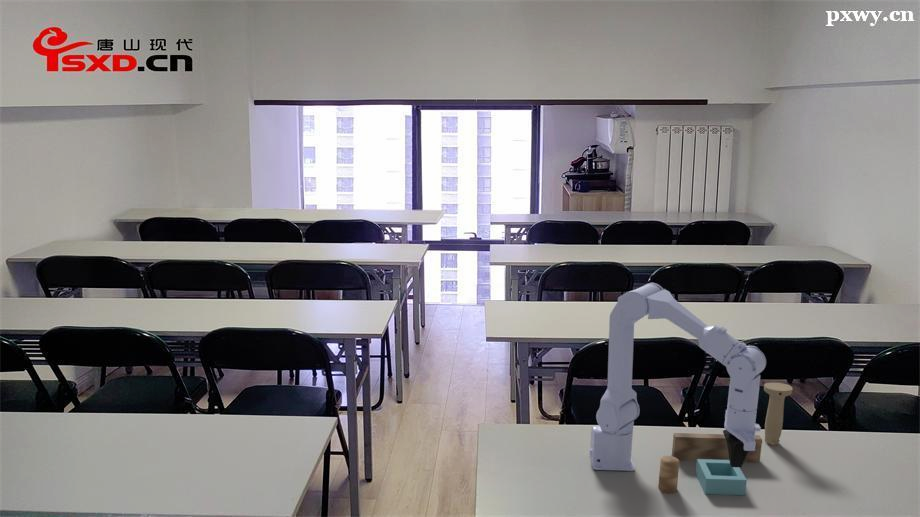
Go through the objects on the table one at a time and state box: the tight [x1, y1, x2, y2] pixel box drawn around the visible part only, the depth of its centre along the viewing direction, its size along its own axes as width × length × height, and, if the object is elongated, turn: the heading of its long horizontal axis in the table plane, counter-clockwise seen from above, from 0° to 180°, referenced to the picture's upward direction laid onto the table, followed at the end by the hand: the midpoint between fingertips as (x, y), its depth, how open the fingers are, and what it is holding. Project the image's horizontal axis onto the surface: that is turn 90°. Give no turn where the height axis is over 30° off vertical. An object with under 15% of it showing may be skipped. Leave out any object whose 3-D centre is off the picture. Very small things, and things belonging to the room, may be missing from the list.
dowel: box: [657, 455, 680, 494], centre depth 178 cm, size 4×4×7 cm
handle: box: [763, 382, 794, 447], centre depth 198 cm, size 5×6×15 cm
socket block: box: [695, 459, 747, 496], centre depth 180 cm, size 9×9×4 cm
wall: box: [671, 432, 763, 463], centre depth 191 cm, size 20×2×6 cm, turn 88°
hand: (735, 465), depth 169 cm, fingers closed
